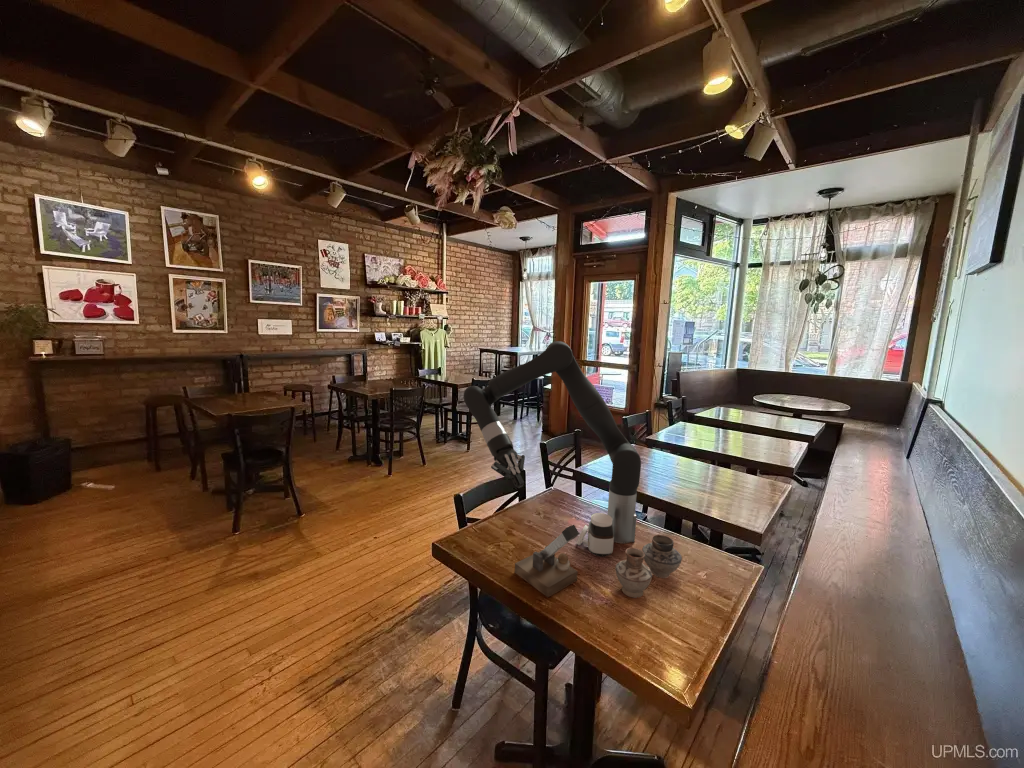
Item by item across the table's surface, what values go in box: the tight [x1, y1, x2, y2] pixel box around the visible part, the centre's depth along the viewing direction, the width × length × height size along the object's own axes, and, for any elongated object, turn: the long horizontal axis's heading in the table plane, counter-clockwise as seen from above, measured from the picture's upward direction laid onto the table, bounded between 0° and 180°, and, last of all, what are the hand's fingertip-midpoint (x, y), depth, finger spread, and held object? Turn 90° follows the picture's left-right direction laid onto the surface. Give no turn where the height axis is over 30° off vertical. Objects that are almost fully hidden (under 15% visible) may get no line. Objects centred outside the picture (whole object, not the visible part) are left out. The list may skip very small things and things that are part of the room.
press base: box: [514, 545, 578, 598], centre depth 120 cm, size 14×12×8 cm
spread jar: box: [576, 512, 615, 558], centre depth 135 cm, size 12×11×12 cm
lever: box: [539, 524, 580, 560], centre depth 115 cm, size 3×3×17 cm
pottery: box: [614, 534, 683, 599], centre depth 119 cm, size 11×25×12 cm, turn 130°
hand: (520, 486), depth 126 cm, fingers closed
